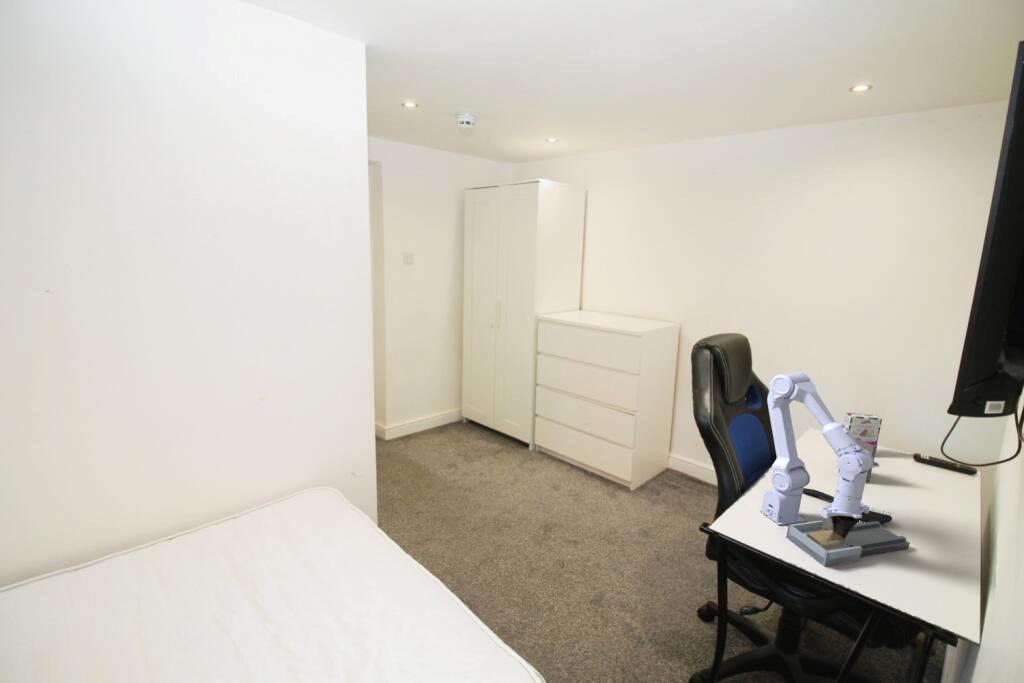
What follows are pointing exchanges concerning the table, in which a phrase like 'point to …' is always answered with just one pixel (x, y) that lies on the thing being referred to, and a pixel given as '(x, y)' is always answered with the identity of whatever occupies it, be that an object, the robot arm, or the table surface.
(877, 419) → the candy bar box
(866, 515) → the hairbrush
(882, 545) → the slotted bar
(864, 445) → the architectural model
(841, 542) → the cream square block
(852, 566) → the table surface
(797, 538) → the tray
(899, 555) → the table surface
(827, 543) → the brass chip
